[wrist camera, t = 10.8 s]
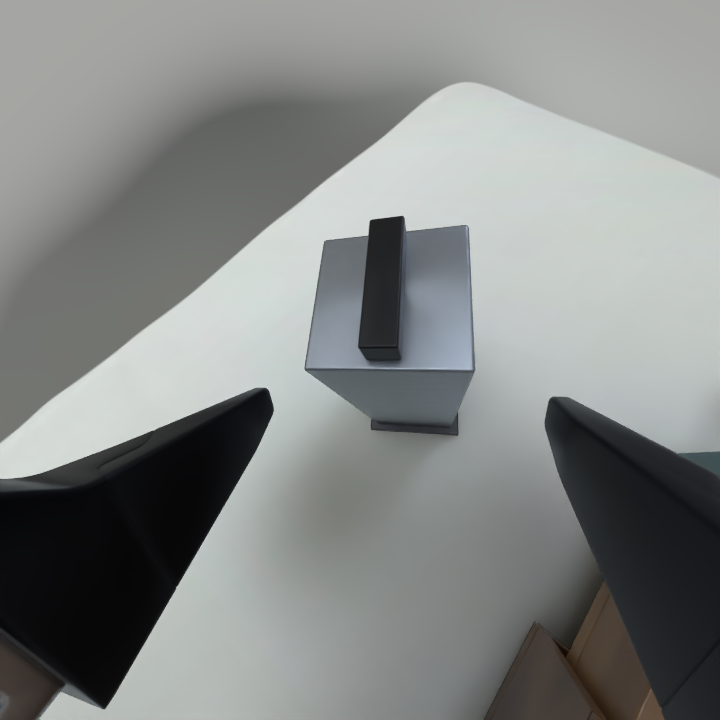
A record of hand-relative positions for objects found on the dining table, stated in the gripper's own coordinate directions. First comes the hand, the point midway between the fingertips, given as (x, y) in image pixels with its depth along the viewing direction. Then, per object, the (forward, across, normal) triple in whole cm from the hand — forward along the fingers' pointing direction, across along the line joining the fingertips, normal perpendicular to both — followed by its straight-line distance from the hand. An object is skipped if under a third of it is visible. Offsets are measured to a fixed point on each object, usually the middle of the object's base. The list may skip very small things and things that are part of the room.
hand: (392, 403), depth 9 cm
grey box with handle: (+9, 0, +5) cm, 10 cm away
